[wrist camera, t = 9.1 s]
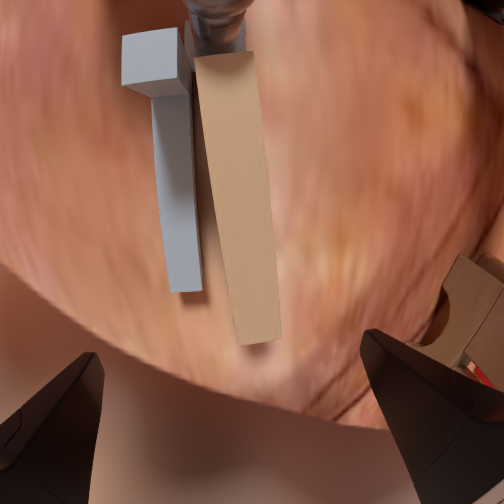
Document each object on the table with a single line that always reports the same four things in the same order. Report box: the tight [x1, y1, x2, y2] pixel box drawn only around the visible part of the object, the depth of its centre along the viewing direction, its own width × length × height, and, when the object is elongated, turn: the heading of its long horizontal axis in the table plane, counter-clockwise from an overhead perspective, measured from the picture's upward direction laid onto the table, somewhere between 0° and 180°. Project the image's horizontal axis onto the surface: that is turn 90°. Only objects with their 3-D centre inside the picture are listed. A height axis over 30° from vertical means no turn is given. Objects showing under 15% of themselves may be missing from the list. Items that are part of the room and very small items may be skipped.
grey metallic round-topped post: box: [180, 0, 254, 72], centre depth 10 cm, size 4×4×10 cm
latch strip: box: [121, 28, 203, 293], centre depth 14 cm, size 2×14×8 cm, turn 2°
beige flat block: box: [194, 51, 282, 346], centre depth 15 cm, size 13×2×7 cm, turn 7°
